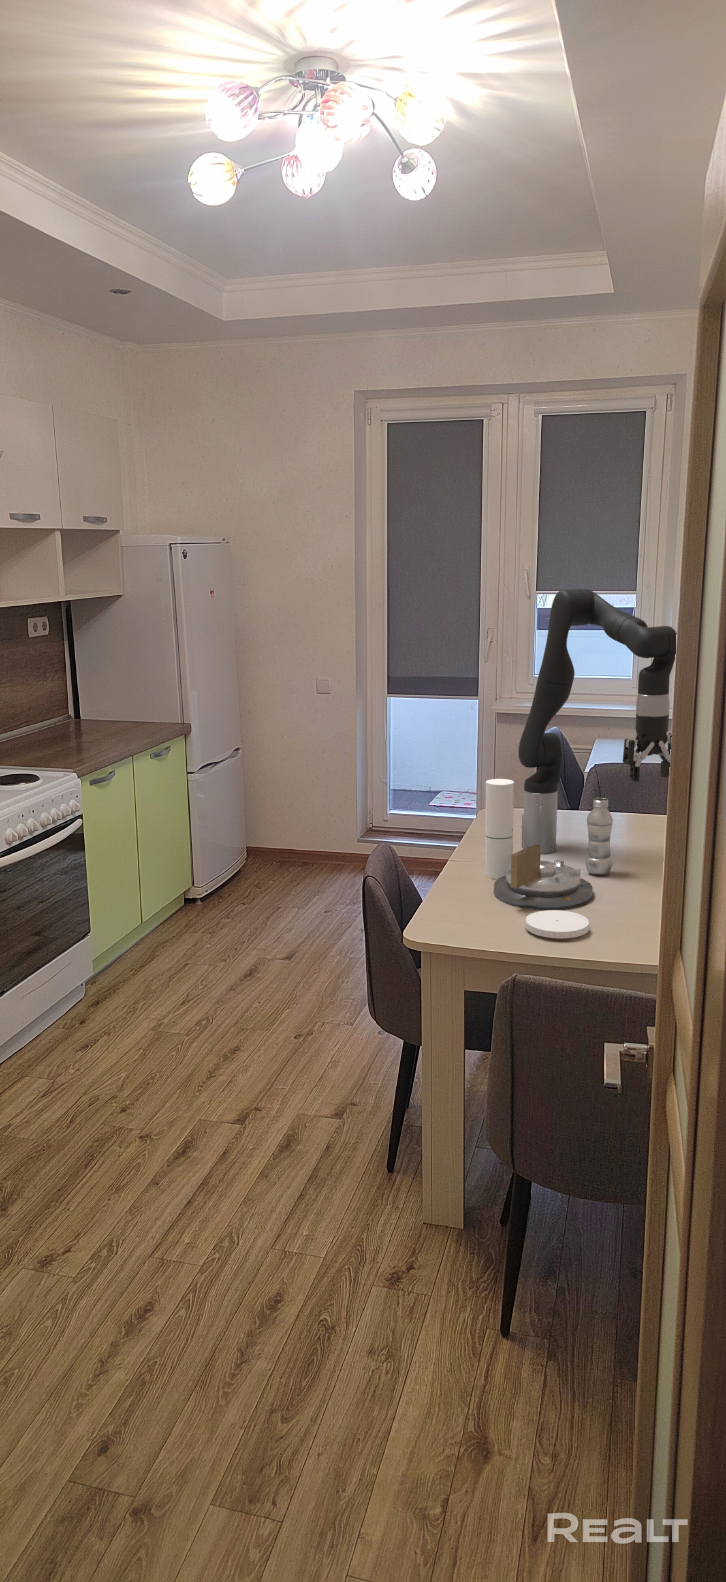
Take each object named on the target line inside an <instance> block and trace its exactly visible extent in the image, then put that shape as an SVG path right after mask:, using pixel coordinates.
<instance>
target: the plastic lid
mask: <svg viewBox="0 0 726 1582" xmlns="http://www.w3.org/2000/svg"><path fill="white" fill-rule="evenodd" d="M524 922H525V924H524V925H525V926H524V927H525V929H526V930H527V931H528V932H530V933H531V934H534V935H536V936H539V937H544V938H547V939H548V938H550V939H571V938H572V939H574V938H577V937H581V936H584V935H586V934H588V932H589V930H590V920H589V919H588V917H586V916H585V915H583V914H579V913H577V912H572V911H569V910H568V911H567V910H538V911H536V912H535V911H534V912H532V913H529V914H528V915H527V916H526V917H525V921H524Z"/></svg>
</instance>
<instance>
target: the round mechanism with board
mask: <svg viewBox="0 0 726 1582" xmlns="http://www.w3.org/2000/svg"><path fill="white" fill-rule="evenodd" d="M540 852H541V845H537V844H534V845H532V846H530V847H527V848H525V849H523V848H522V849H521V850H518V851H516V852H515V853H514V852H513V854H512V855H511V867H509V866H507V871H506V886H507V887H508V888H509V889H510V890H512V891H515V892H517V893H521V894H525V895H530V896H540V897H554V896H563V895H568V894H572V893H574V892H576V891H578V890H579V889H580V878H581V868H578V867H577V868H576V867H573V866H572V867H571V866H570V865H566V864H565V860H563V859H559V858H558V859H555V860H553V862H552V861H548V860H541V853H540Z"/></svg>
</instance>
